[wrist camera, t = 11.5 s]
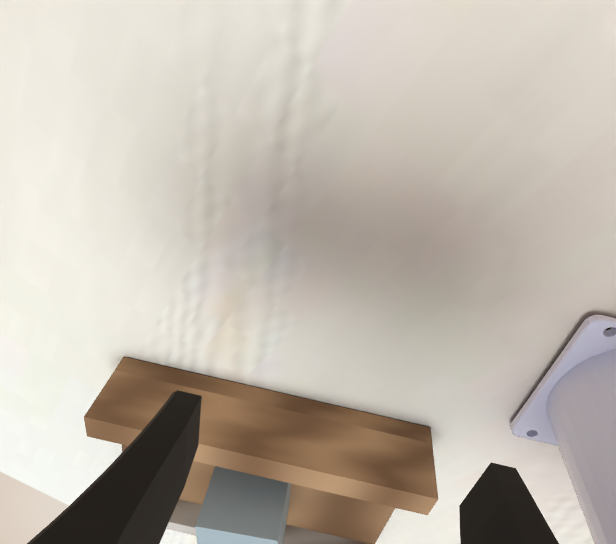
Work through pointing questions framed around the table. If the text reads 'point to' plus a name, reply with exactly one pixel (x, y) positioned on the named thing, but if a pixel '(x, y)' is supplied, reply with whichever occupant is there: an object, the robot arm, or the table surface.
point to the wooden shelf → (281, 451)
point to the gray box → (243, 509)
